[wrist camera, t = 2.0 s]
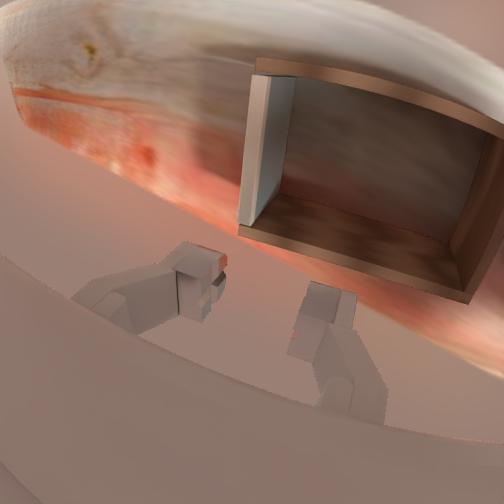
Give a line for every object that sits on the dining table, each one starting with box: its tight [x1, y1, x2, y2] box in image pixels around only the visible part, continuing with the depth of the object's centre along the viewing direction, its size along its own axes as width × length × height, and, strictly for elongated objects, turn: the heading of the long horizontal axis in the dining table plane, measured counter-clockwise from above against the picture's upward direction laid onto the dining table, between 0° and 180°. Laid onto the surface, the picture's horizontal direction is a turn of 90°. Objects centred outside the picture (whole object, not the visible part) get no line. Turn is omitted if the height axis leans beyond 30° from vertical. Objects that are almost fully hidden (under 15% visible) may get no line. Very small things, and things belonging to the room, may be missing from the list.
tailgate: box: [237, 75, 296, 226], centre depth 25 cm, size 1×11×8 cm, turn 175°
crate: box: [238, 57, 504, 305], centre depth 23 cm, size 20×14×8 cm
